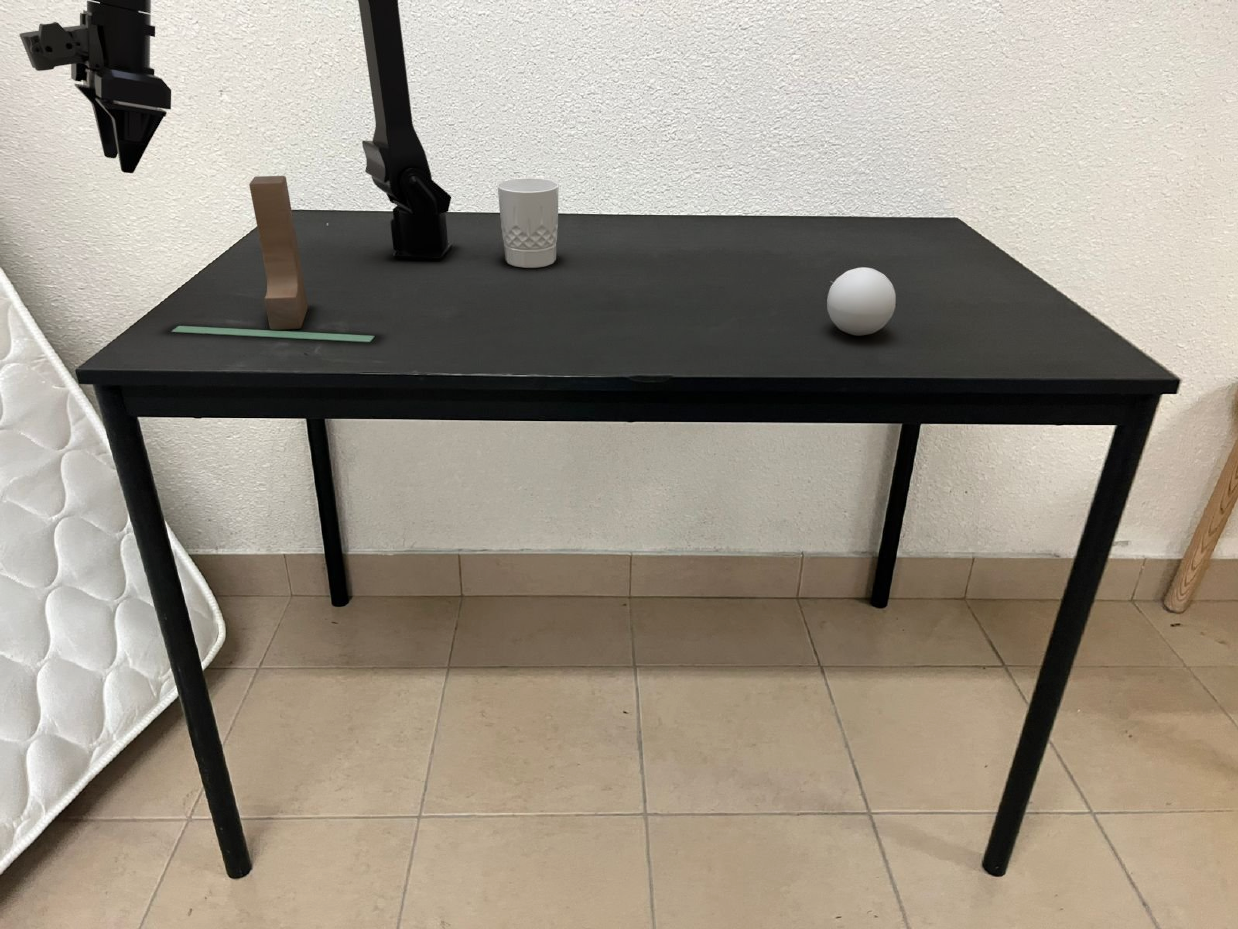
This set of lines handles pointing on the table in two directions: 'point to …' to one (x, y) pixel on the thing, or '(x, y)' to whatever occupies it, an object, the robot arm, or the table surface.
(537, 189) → the white cup
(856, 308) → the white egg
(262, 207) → the wooden block
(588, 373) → the table surface
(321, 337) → the tape strip
